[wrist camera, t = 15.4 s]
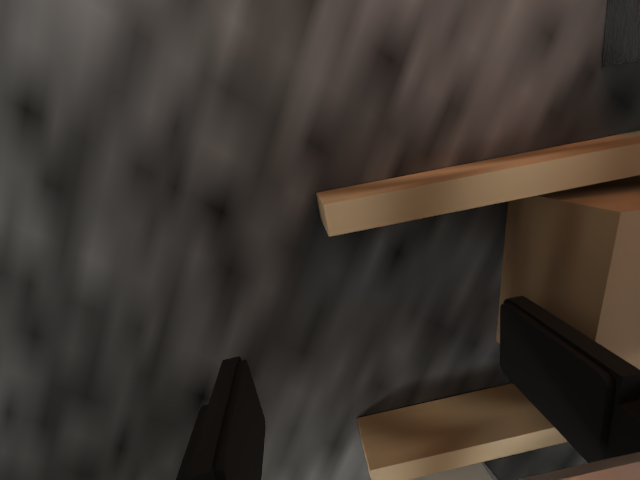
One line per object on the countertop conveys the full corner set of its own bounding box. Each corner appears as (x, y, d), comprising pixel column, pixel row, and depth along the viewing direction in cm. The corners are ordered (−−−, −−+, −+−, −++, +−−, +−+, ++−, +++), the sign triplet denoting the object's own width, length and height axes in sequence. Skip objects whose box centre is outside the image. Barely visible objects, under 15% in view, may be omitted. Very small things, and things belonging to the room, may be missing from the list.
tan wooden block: (493, 337, 14) (579, 418, 10) (505, 189, 12) (620, 212, 8) (648, 314, 15) (793, 380, 11) (685, 168, 13) (883, 179, 9)
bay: (359, 433, 15) (373, 487, 13) (316, 192, 11) (323, 204, 9) (709, 354, 16) (784, 390, 13) (772, 104, 12) (891, 94, 10)
